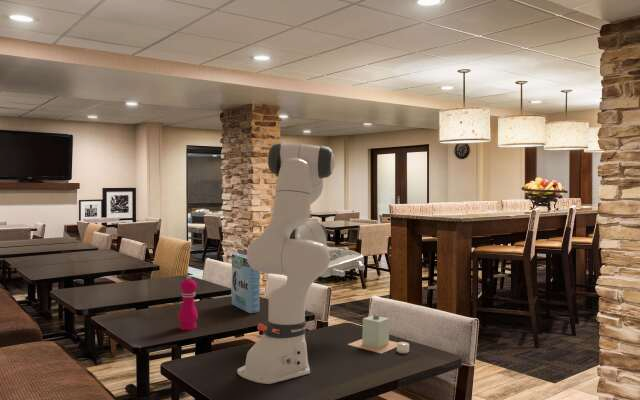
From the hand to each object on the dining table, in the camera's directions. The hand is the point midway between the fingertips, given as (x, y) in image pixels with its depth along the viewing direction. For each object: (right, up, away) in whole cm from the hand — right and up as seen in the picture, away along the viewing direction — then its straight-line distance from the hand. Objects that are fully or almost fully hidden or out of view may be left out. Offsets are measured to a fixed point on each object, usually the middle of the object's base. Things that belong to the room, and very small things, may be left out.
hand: (353, 271), depth 194 cm
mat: (+7, -25, -5) cm, 27 cm away
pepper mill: (-62, -23, +10) cm, 67 cm away
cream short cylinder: (+16, -26, -12) cm, 32 cm away
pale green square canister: (+7, -25, -5) cm, 26 cm away
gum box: (-45, -22, +43) cm, 66 cm away
